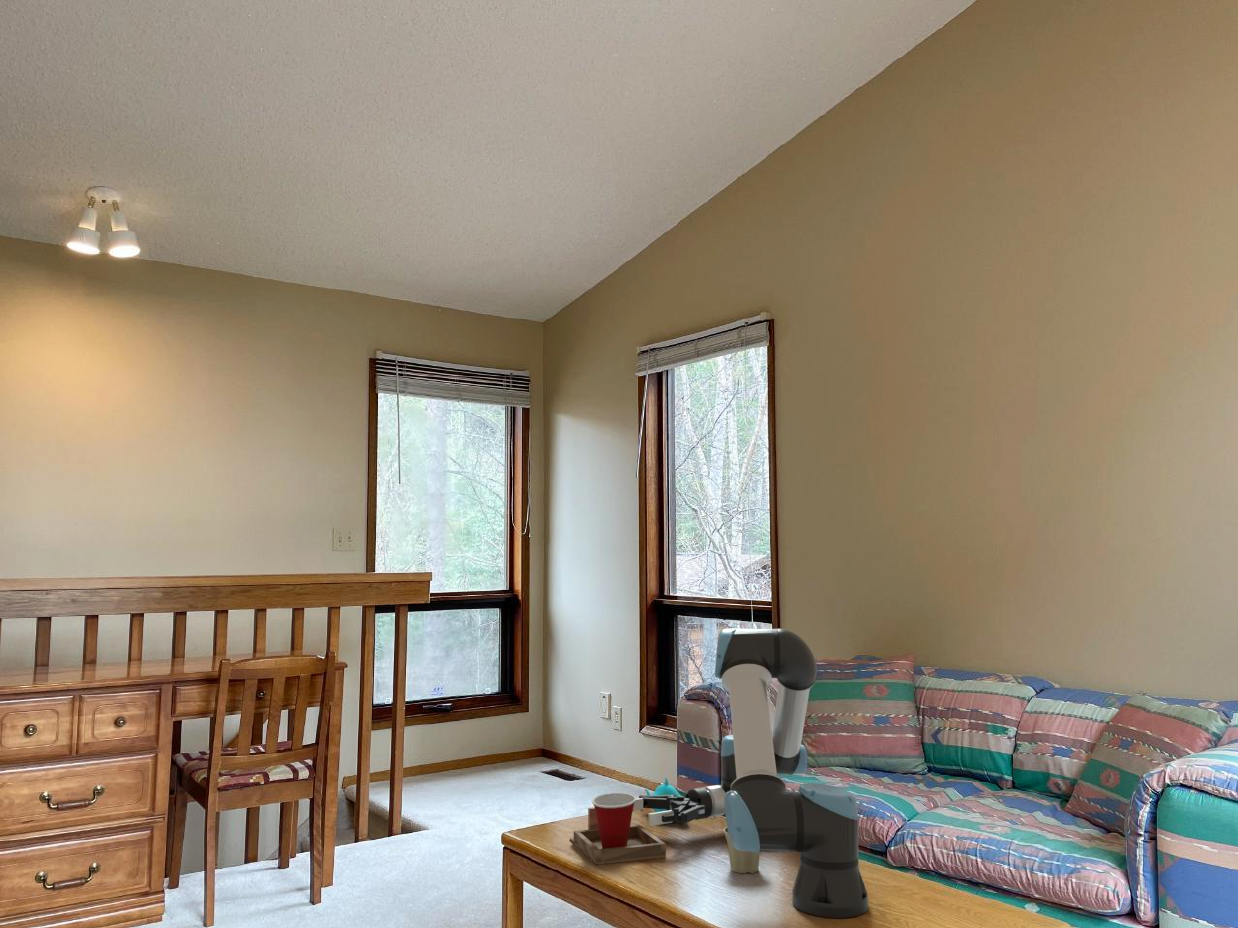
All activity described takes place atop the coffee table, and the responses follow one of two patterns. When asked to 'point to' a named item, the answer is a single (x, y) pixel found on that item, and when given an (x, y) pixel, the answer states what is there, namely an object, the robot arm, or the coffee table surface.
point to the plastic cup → (614, 818)
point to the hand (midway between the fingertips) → (634, 813)
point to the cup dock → (637, 847)
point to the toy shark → (664, 792)
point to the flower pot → (741, 858)
